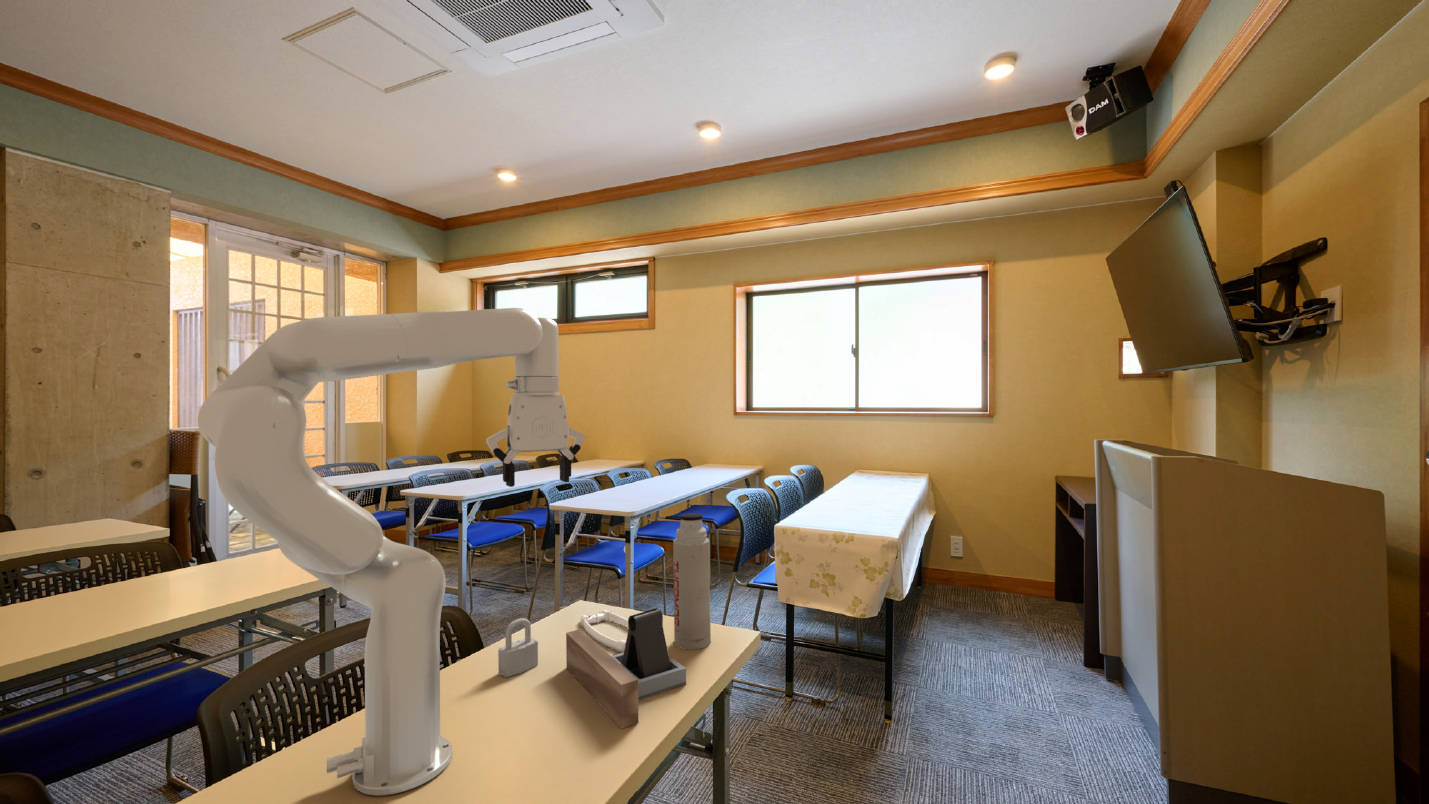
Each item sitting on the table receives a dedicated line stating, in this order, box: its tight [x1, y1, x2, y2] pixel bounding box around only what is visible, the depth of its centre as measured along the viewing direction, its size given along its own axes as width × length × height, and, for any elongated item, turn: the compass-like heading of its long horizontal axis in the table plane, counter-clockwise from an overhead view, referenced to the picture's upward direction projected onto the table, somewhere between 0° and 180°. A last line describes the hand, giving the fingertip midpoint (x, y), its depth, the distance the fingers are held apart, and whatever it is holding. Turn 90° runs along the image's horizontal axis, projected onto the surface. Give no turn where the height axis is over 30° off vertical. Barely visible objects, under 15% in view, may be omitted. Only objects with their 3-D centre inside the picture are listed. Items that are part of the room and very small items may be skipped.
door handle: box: [579, 609, 628, 653], centre depth 129 cm, size 3×10×25 cm
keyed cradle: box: [611, 652, 687, 701], centre depth 108 cm, size 10×13×3 cm
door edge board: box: [565, 628, 639, 729], centre depth 103 cm, size 3×26×7 cm, turn 34°
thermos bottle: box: [672, 512, 712, 650], centre depth 125 cm, size 8×8×28 cm
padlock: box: [497, 617, 539, 678], centre depth 112 cm, size 7×4×10 cm, turn 140°
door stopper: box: [622, 607, 671, 679], centre depth 108 cm, size 9×6×12 cm, turn 41°
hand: (538, 483), depth 101 cm, fingers open, 9 cm apart
